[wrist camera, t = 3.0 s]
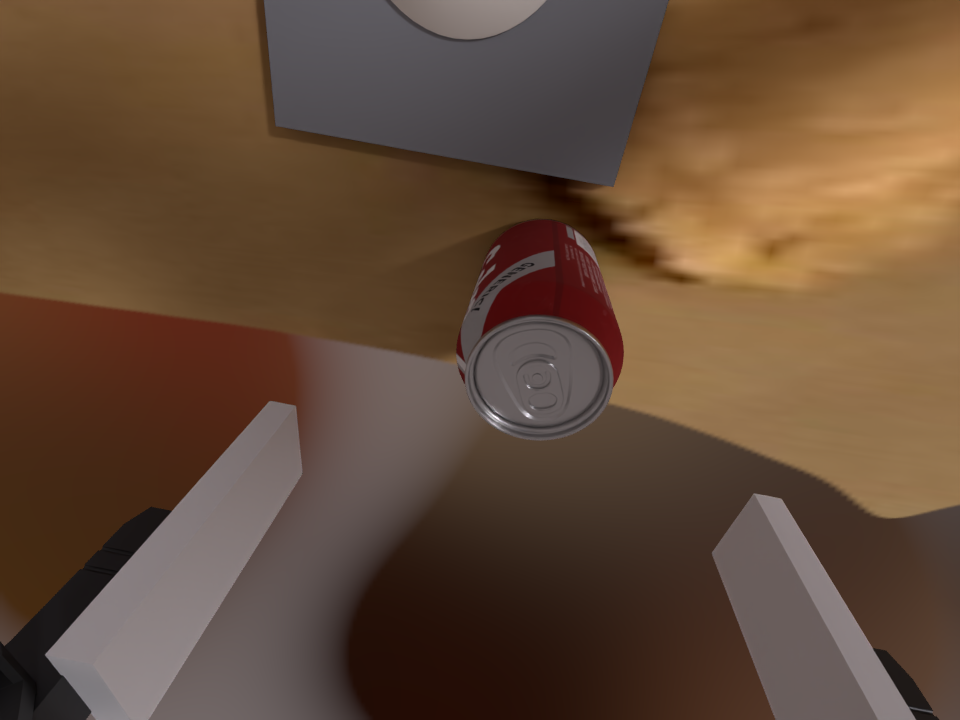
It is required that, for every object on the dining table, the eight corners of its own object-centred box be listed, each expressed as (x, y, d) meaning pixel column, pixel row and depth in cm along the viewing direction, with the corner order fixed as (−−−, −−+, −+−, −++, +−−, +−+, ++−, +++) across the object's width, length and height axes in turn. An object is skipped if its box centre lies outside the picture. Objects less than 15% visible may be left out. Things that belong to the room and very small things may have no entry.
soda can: (588, 202, 24) (622, 282, 14) (603, 312, 27) (639, 442, 17) (471, 230, 25) (424, 320, 15) (498, 331, 29) (474, 460, 19)
